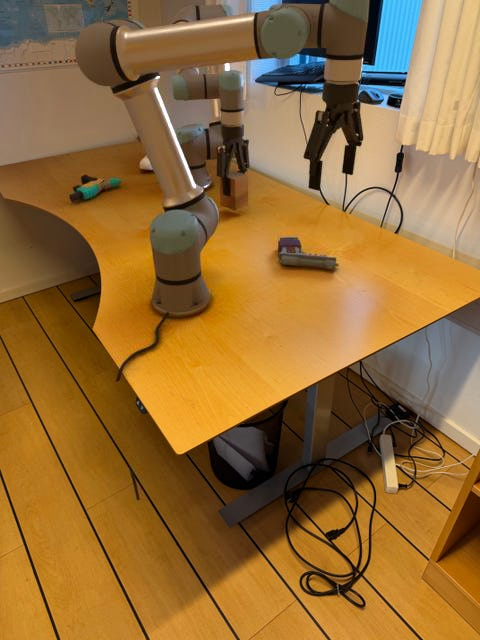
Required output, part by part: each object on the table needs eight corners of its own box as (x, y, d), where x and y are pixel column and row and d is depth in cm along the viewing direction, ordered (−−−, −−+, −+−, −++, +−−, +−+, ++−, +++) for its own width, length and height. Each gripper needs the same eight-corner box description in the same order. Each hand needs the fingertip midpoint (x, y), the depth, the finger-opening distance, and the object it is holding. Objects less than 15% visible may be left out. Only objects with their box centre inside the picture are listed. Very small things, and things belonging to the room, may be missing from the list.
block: (248, 205, 171) (248, 174, 164) (235, 210, 167) (235, 179, 160) (233, 199, 175) (232, 169, 169) (220, 205, 171) (219, 174, 165)
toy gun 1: (47, 189, 181) (76, 196, 175) (93, 169, 199) (121, 175, 193) (49, 200, 183) (79, 207, 177) (95, 180, 202) (123, 186, 196)
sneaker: (133, 173, 208) (129, 144, 201) (161, 153, 230) (158, 127, 223) (155, 175, 205) (151, 146, 198) (180, 155, 227) (178, 129, 220)
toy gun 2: (339, 250, 148) (337, 274, 136) (279, 245, 151) (272, 268, 139) (340, 238, 146) (338, 262, 134) (280, 234, 149) (273, 256, 137)
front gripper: (358, 71, 108) (347, 164, 121) (290, 87, 94) (285, 191, 106) (388, 75, 104) (373, 171, 117) (321, 92, 89) (312, 200, 102)
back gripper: (244, 116, 163) (244, 182, 176) (202, 128, 151) (206, 197, 165) (260, 120, 159) (260, 187, 172) (219, 132, 147) (221, 203, 161)
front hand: (331, 181), depth 111 cm, fingers open, 13 cm apart
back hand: (233, 192), depth 168 cm, fingers closed on block, 7 cm apart
